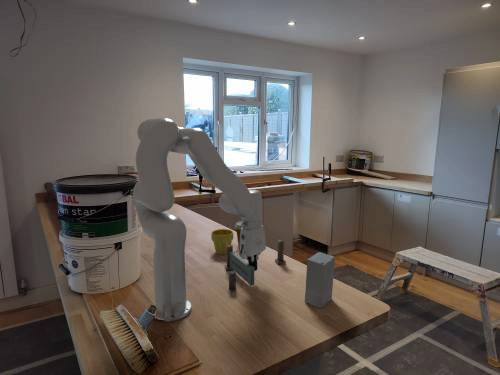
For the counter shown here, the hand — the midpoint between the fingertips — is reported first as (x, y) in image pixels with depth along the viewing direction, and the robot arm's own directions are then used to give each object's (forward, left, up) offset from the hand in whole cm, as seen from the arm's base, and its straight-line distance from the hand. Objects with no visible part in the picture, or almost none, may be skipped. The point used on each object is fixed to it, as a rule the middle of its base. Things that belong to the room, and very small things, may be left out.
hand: (252, 269), depth 123 cm
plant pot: (+34, +5, -5) cm, 34 cm away
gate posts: (+5, -4, -5) cm, 8 cm away
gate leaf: (+3, +4, -3) cm, 6 cm away
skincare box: (-20, -17, -5) cm, 27 cm away
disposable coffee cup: (+38, -7, -5) cm, 39 cm away
